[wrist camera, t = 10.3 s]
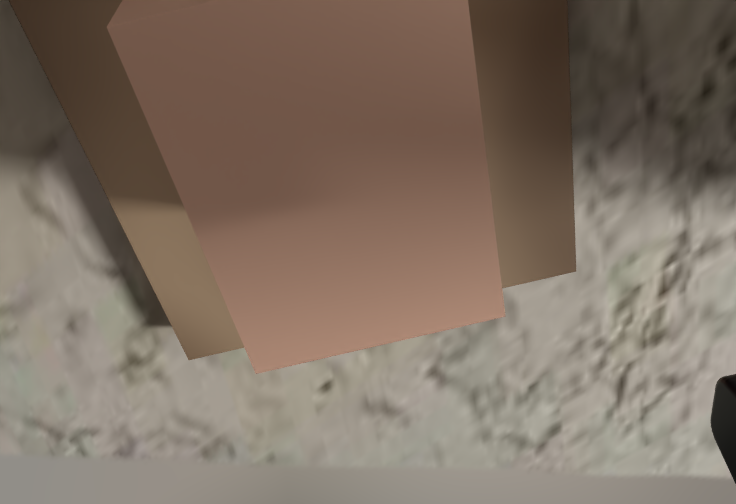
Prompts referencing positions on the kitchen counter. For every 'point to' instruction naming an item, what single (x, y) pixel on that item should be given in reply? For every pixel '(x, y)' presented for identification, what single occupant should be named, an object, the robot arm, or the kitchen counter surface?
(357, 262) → the product carton
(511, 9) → the tan banded flat block
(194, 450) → the kitchen counter surface
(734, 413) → the robot arm
